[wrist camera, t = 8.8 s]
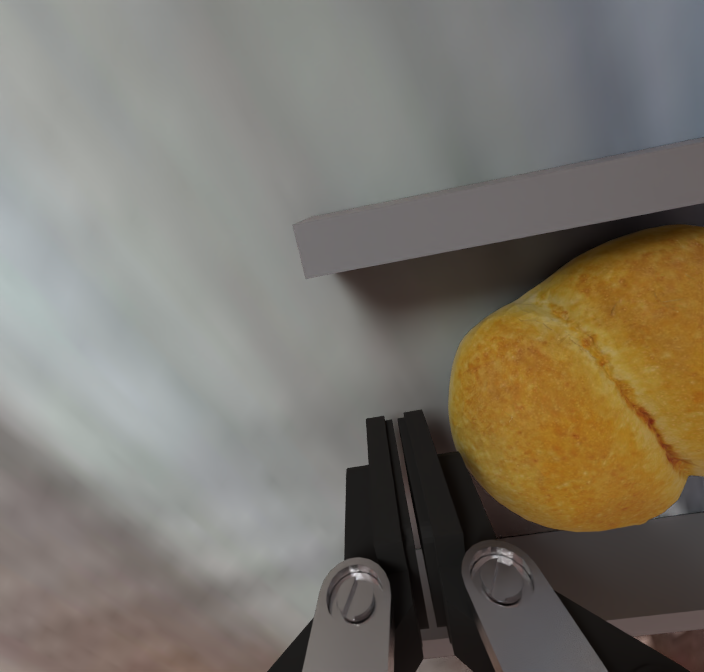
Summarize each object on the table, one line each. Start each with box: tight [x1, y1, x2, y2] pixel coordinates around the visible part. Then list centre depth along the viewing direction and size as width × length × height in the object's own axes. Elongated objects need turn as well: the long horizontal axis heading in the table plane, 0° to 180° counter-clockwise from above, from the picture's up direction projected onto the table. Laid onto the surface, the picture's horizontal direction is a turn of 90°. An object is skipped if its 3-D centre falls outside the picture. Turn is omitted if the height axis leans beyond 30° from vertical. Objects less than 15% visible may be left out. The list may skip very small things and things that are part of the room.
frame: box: [293, 137, 704, 659], centre depth 10 cm, size 14×14×3 cm
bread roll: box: [448, 224, 704, 532], centre depth 9 cm, size 8×9×4 cm
